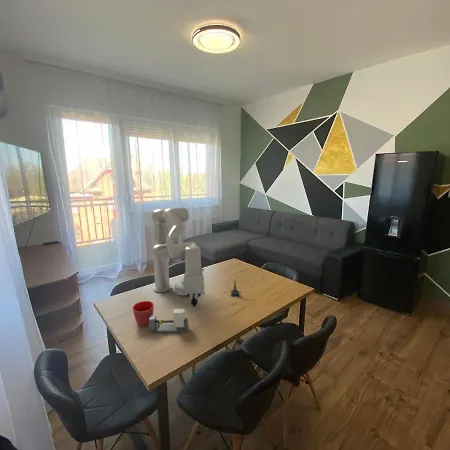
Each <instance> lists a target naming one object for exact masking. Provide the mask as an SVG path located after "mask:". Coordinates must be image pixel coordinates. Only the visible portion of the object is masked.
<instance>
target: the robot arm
mask: <svg viewBox="0 0 450 450" xmlns="http://www.w3.org/2000/svg"><path fill="white" fill-rule="evenodd" d="M151 213H152V214H151V219H152V222H153V224H154V237H153V238H154V243H155V245H154V246H152V248H151V254H152V260H153V269H154V270H153V271H154V272H153V273H154V286H152V290H153V291H154V292H156V293H166V292H169V291H170V290H171V289H172V287H173V286H172V284H171V283H170V273H169V271H170V270H169V269H170V267H169V263H168V261H167V260H166V258H171V259H174V260H179V259H183V258H184V265H185V266H184V267H185V272H184V274H183V279H184V281H183V295H182V296H187V297H189V299H190V302H191V305H192V308H195V307H197V305H198V301H199V300H198V299H199V298H200V297H201V296H204V295H206V293H205V277H204V271H205V268H202V255H201V254H202V253H201V247H200V246H199V245H197V244H196V242H195V241H186V242H185V241H184V242H180V236H181V235H183V233H184V232H185V230H186V227H185V225H184V223H185V222H187V221H189V219H190V213H189V211H188V209H187V208H186V207H184V206H183V207H181V206H180V207H171V208H163V209H162V208H161V209H154V210H153V211H152V212H151ZM179 242H180V243H179ZM194 295H195V296H194Z"/></svg>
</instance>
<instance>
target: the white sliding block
mask: <svg viewBox="0 0 450 450" xmlns="http://www.w3.org/2000/svg"><path fill="white" fill-rule="evenodd" d="M172 314H173V320H174V323H173V324H174V327H184V320H185V318H186V317H185V316H186V315H185V308H174V310H173V313H172Z"/></svg>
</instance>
